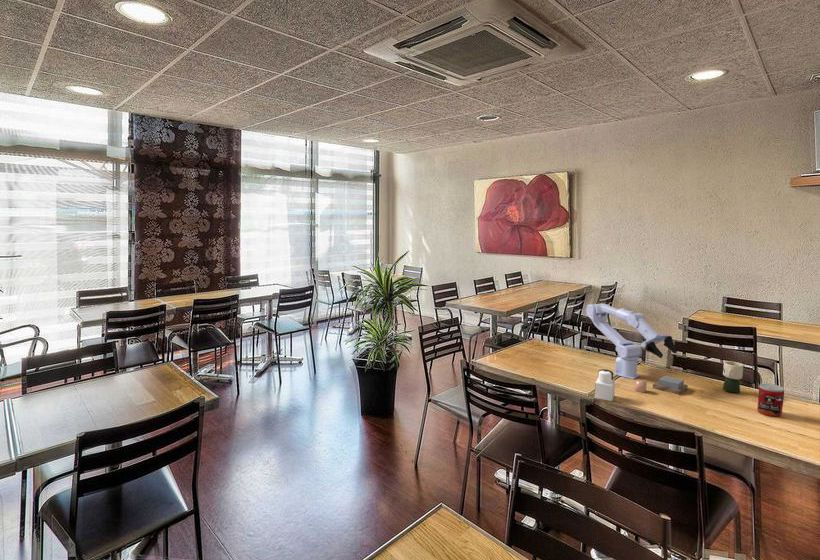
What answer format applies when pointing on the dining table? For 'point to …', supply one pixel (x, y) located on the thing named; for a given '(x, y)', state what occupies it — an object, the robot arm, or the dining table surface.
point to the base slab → (670, 390)
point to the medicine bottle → (605, 385)
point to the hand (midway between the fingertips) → (669, 354)
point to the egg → (640, 386)
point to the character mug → (732, 376)
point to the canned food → (770, 400)
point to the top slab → (671, 382)
